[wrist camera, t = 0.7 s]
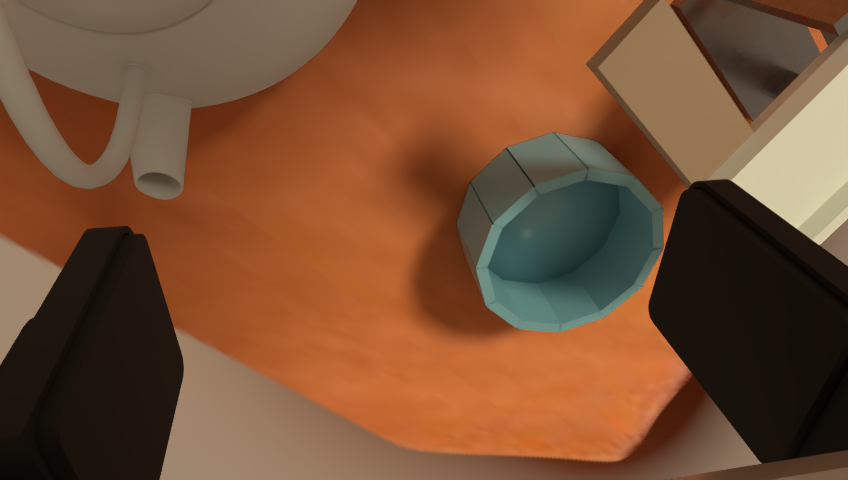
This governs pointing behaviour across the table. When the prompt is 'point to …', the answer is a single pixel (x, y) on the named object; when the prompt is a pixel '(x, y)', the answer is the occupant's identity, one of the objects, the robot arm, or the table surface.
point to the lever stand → (759, 42)
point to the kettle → (150, 71)
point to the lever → (735, 119)
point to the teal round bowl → (558, 233)
